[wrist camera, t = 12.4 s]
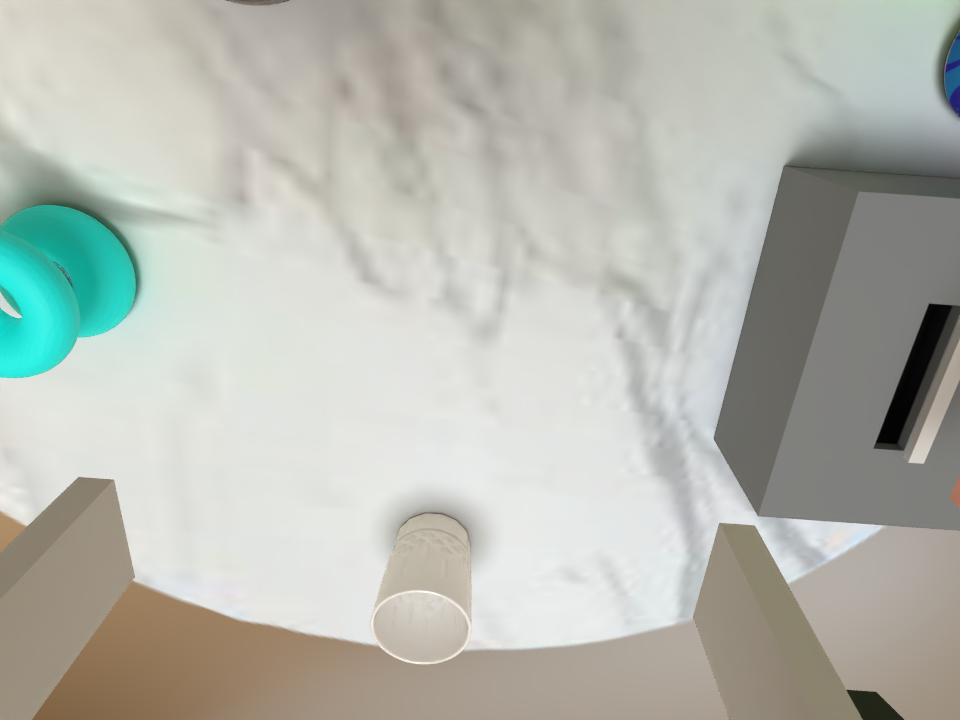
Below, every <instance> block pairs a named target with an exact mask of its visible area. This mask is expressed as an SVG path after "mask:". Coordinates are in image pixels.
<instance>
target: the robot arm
mask: <svg viewBox="0 0 960 720" xmlns="http://www.w3.org/2000/svg"><path fill="white" fill-rule="evenodd" d="M227 1H230V2H235V3H240V4H246V5H271V4H278V3H282V2H286V1H289V0H227ZM134 577H135V575H134V571H133V566H132V561H131V557H130V552H129V547H128V543H127V538H126V534H125V529H124V524H123V520H122V515H121V510H120V506H119V501H118V497H117V492H116V487H115V483H114V480H111V479H97V478H83V477H78V478H77V479H76V480H75V481H74V482H73V483H72V484H71V485H70V486H69V487H68V488H67V489H66V490H65V491H64V492H63V493H62V494H61V495H60V496H58V497H57V498H56V499H55V500H54V501H53V502H52V503H51V504H50V505H49V506H48V507H47V508H46V509H45V510H44V511H43V512H42V513H41V514H40V515H39V516H38V517H37V518H36V519H35V520H34V521H33V522H31V523H30V524H29V525H28V526H27V527H26V528H25V529H24V530H23V531H22V532H21V533H20V534H19V535H18V536H17V537H16V538H15V539H14V540H13V541H12V542H11V543H10V544H9V545H8V546H7V547H6V548H5V549H3V551H1V552H0V720H32V718H33V717H34V715H35V714H36V713H37V711H38V710H39V709H40V707H41V706H42V705H43V703H44V702H45V700H46V699H47V698H48V696H49V695H50V694H51V692H52V691H53V689H54V688H55V687H56V685H57V684H58V682H59V681H60V680H61V678H62V677H63V676H64V674H65V673H66V671H67V670H68V669H69V667H70V666H71V664H72V663H73V662H74V660H75V659H76V658H77V656H78V655H79V653H80V652H81V651H82V649H83V648H84V646H85V645H86V644H87V642H88V641H89V640H90V638H91V637H92V635H93V634H94V633H95V631H96V630H97V628H98V627H99V626H100V624H101V623H102V622H103V620H104V619H105V617H106V616H107V615H108V613H109V612H110V610H111V609H112V608H113V606H114V605H115V604H116V602H117V601H118V599H119V598H120V597H121V595H122V594H123V593H124V591H125V590H126V588H127V587H128V586H129V584H130V583H131V581H132V580H133V579H134ZM693 618H694V621H695V624H696V627H697V629H698V632H699V635H700V638H701V641H702V644H703V646H704V649H705V652H706V655H707V658H708V660H709V664H710V666H711V669H712V672H713V675H714V678H715V680H716V684H717V686H718V689H719V692H720V695H721V698H722V701H723V704H724V706H725V709H726V712H727V715H728V718H729V720H904V719H903V718H902V717H901V716H900V715H899V714H898V713H897V712H896V711H895V710H894V709H893V708H892V707H891V706H890V705H889V704H888V703H887V702H886V701H885V700H884V699H883V698H882V697H881V696H880V695H879V694H877V692H869V691H855V690H846V689H845V687H844V685H843V683H842V682H841V680H840V678H839V676H838V674H837V673H836V671H835V669H834V667H833V665H832V664H831V662H830V660H829V658H828V656H827V655H826V653H825V651H824V649H823V647H822V646H821V644H820V642H819V640H818V639H817V637H816V635H815V633H814V631H813V629H812V628H811V626H810V624H809V622H808V620H807V619H806V617H805V615H804V613H803V611H802V610H801V608H800V606H799V604H798V603H797V601H796V599H795V597H794V595H793V594H792V592H791V590H790V588H789V586H788V585H787V583H786V581H785V579H784V577H783V576H782V574H781V572H780V570H779V568H778V567H777V565H776V563H775V561H774V559H773V558H772V556H771V554H770V552H769V550H768V549H767V547H766V545H765V543H764V541H763V540H762V538H761V536H760V534H759V532H758V531H757V529H756V527H755V526H754V525H740V524H726V523H719V526H718V530H717V533H716V537H715V540H714V544H713V547H712V551H711V555H710V558H709V562H708V565H707V569H706V573H705V576H704V580H703V583H702V587H701V590H700V594H699V598H698V601H697V605H696V608H695V612H694V615H693Z"/></svg>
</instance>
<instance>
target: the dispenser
mask: <svg viewBox="0 0 960 720" xmlns="http://www.w3.org/2000/svg"><path fill="white" fill-rule="evenodd" d="M714 440H715V442H716V444H717V446H718V447H719V449H720V451H721V453H722V454H723V456H724V458H725V460H726V461H727V463H728V465H729V466H730V468H731V470H732V472H733V473H734V475H735V477H736V479H737V480H738V482H739V484H740V486H741V487H742V489H743V491H744V493H745V494H746V496H747V498H748V500H749V501H750V503H751V505H752V506H753V508H754V510H755V512H756V513H757V515H758V516H763V517H777V518H791V519H805V520H818V521H832V522H846V523H860V524H874V525H888V526H902V527H916V528H930V529H944V530H958V531H960V508H959V507H958V506H957V505H956V504H955V503H954V502H953V501H952V500H951V499H950V495H951V493H952V491H953V489H954V487H955V485H956V482H957V480H958V478H959V476H960V179H959V178H945V177H931V176H917V175H903V174H889V173H875V172H861V171H847V170H832V169H818V168H804V167H790V166H784V168H783V172H782V176H781V180H780V183H779V187H778V191H777V195H776V199H775V203H774V207H773V211H772V215H771V218H770V222H769V226H768V230H767V234H766V238H765V242H764V246H763V250H762V253H761V257H760V261H759V265H758V269H757V273H756V277H755V281H754V284H753V288H752V292H751V296H750V300H749V304H748V308H747V312H746V316H745V319H744V323H743V327H742V331H741V335H740V339H739V343H738V347H737V351H736V354H735V358H734V362H733V366H732V370H731V374H730V378H729V382H728V386H727V389H726V393H725V397H724V401H723V405H722V409H721V413H720V417H719V421H718V424H717V428H716V432H715V436H714Z"/></svg>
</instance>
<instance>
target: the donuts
mask: <svg viewBox="0 0 960 720" xmlns="http://www.w3.org/2000/svg"><path fill="white" fill-rule="evenodd" d="M54 262H55V263H57V264H59V265H60V266H61V267H63V268H64V270H65V271H66V272H67V273H68V275H69V277H70V279H71V282H72V287H71V285H70V283H69V281H68V280H67V278H66V277H65V275H64V274H63V272H62V271H61V270H60V269H59V267H58V266H57V265H56V264H55V263H54ZM0 292H1V293H2V295H3V296H4V298H5V299H6V301H7V302H8V303H9V304H10V305H11V307H12V308H13V309H14V310H15V311H16V312H17V313H18V314H20V315H21V316H22V318H15V317H12V316H10V315H8V314H7V313H5V312H4V311H3V310H2V309H1V308H0V377H3V378H24V377H30V376H34V375H38V374H41V373H44V372H46V371H48V370H50V369H52V368H53V367H55V366H56V365H58V364H59V363H60V362H62V361H63V360H64V359H65V357H66V356H67V355H68V354H69V353H70V351H71V350H72V348H73V346H74V344H75V342H76V339H77V337H90V336H95V335H98V334H102V333H104V332H107V331H109V330H110V329H112V328H114V327H115V326H116V325H118V324H119V323H120V322H121V321H122V320H123V319H124V318H125V317H126V315H127V314H128V312H129V310H130V309H131V307H132V304H133V302H134V298H135V292H136V278H135V272H134V268H133V265H132V262H131V260H130V257H129V255H128V253H127V252H126V250H125V248H124V247H123V245H122V244H121V242H120V241H119V240H118V239H117V237H116V236H115V235H114V234H113V233H112V232H111V231H110V230H109V229H108V228H106V227H105V226H104V225H103V224H101V223H100V222H99V221H97V220H96V219H94V218H92V217H91V216H89V215H87V214H85V213H83V212H80V211H78V210H75V209H72V208H68V207H64V206H57V205H39V206H34V207H29V208H26V209H23V210H21V211H19V212H17V213H15V214H14V215H12V216H11V217H10V218H8V219H7V220H6V221H5V222H4V223H3V224H2V225H1V227H0Z"/></svg>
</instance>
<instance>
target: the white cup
mask: <svg viewBox="0 0 960 720" xmlns="http://www.w3.org/2000/svg"><path fill="white" fill-rule="evenodd" d="M471 594H472V585H471V562H470V542H469V539H468V535H467V531H466V530H465V529H464V528H463V527H462V526H461V525H460V524H459V523H458V522H457V521H456V520H454V519H452V518H450V517H447V516H445V515H443V514H429V513H424V514H421V515H419V516H416V517H413V518H410V519H409V520H408V521H407V522H406V523H405V524H404V525H403V526H402V527H401V528H400V529H399V532H398V536H397V539H396V543H395V546H394V549H393V551H392V553H391V554H390V558H389V561H388V563H387V566H386V570H385V573H384V576H383V579H382V583H381V586H380V590H379V593H378V596H377V600H376V603H375V606H374V610H373V613H372V616H371V621H370V627H371V632H372V635H373V637H374V639H375V641H376V642H377V644H378V645H379V646H380V647H381V648H382V649H383V650H384V651H385V652H387V653H388V654H390V655H391V656H393V657H395V658H397V659H400V660H402V661H405V662H409V663H415V664H434V663H440V662H443V661H446V660H449V659H451V658H453V657H454V656H456V655H458V654H459V653H460V652H461V651H462V650H463V649H464V648H465V647H466V645H467V644H468V642H469V640H470V637H471Z"/></svg>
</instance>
